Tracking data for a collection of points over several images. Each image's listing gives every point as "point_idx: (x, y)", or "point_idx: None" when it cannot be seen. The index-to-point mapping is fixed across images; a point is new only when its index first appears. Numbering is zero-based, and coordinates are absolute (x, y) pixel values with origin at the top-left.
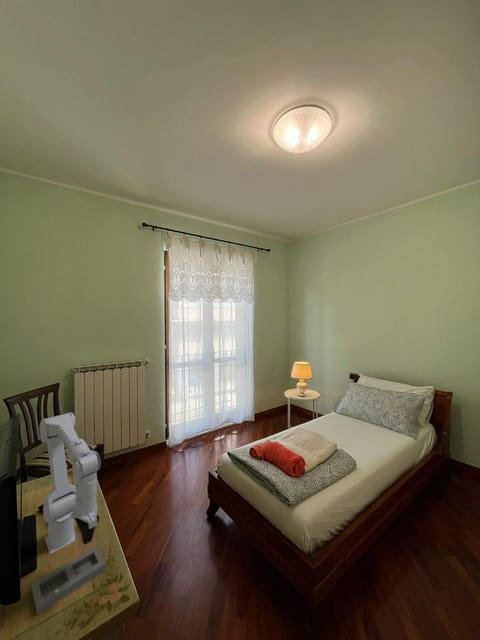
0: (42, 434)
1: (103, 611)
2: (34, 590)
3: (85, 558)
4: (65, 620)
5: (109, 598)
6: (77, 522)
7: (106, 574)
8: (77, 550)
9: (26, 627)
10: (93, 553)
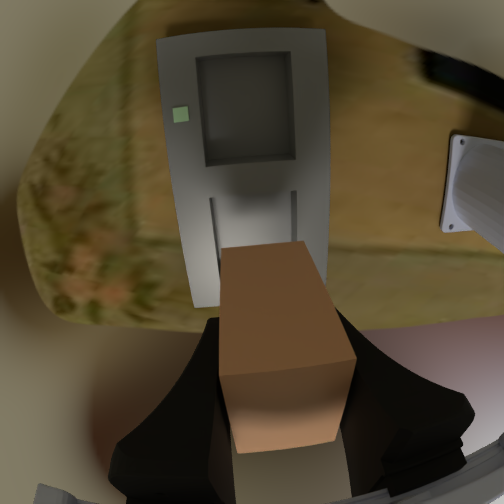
0: None
1: (49, 249)
2: (268, 31)
3: None
4: (79, 140)
5: (81, 272)
6: (368, 391)
7: (181, 286)
8: (246, 258)
9: (146, 17)
10: None
